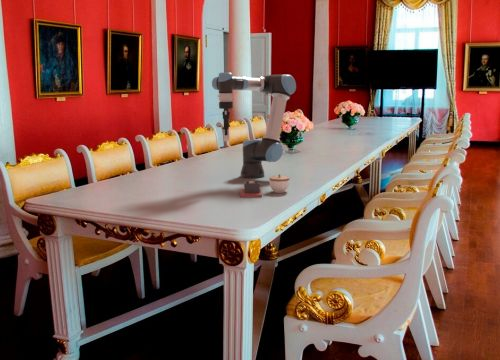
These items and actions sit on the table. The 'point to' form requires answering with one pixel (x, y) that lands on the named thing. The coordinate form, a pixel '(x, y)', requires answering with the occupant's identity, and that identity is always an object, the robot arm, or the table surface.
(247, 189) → the hollow frame block
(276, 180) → the lidded jar
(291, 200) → the table surface
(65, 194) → the table surface
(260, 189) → the plate
